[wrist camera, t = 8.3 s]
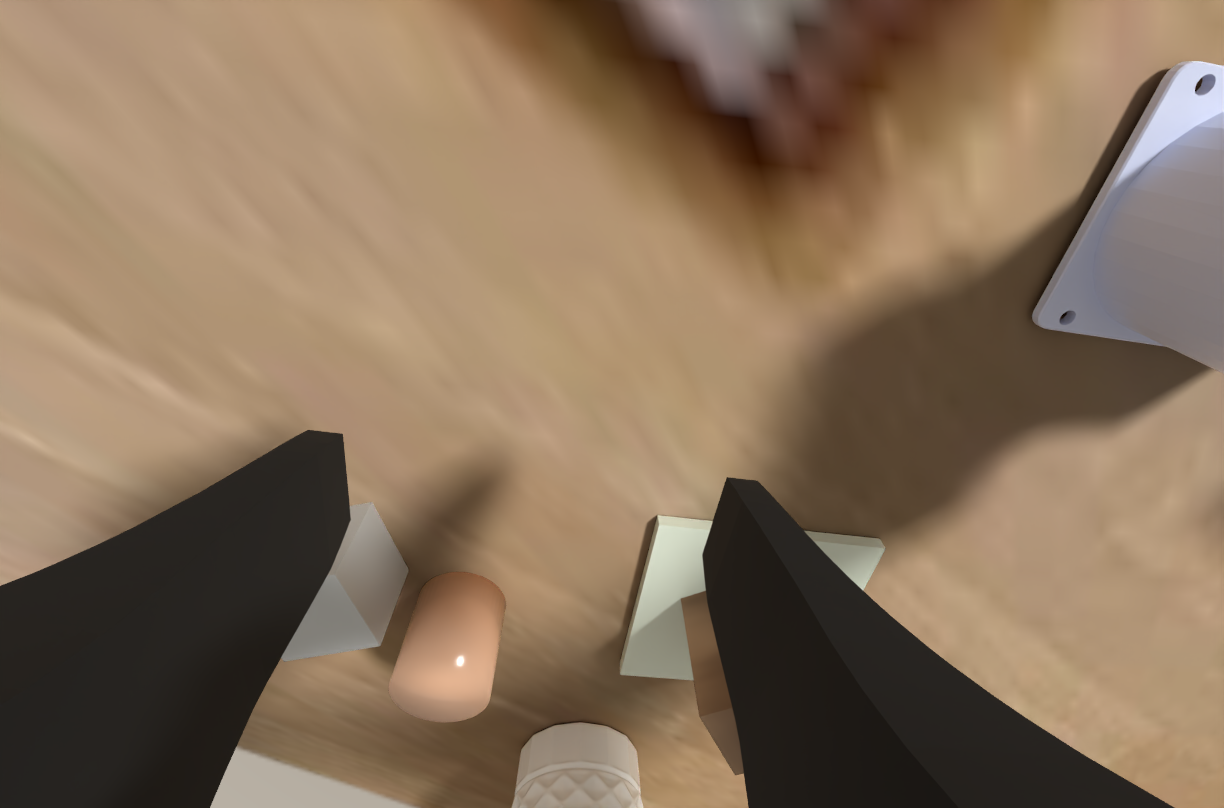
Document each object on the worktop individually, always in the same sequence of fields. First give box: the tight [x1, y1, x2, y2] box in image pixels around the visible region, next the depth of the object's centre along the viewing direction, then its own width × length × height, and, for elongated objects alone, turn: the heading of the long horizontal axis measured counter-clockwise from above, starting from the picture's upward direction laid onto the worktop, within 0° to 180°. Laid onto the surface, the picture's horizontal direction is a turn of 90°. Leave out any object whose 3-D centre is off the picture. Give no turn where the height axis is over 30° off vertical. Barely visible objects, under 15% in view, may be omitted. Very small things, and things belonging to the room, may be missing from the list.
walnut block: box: [681, 591, 744, 775], centre depth 24 cm, size 4×4×6 cm
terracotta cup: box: [389, 572, 506, 722], centre depth 25 cm, size 4×4×4 cm
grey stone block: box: [281, 502, 409, 662], centre depth 23 cm, size 4×4×4 cm
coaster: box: [620, 515, 886, 680], centre depth 27 cm, size 10×10×1 cm
